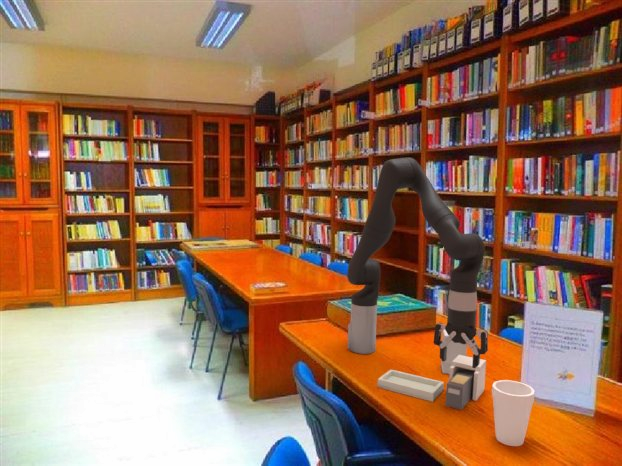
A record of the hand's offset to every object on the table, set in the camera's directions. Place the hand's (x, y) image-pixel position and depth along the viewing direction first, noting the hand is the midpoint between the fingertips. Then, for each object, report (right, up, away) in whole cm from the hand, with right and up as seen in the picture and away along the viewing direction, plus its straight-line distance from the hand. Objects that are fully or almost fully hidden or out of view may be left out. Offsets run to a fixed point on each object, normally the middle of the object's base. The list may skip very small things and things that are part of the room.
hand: (459, 363), depth 142 cm
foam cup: (+7, -14, -17) cm, 23 cm away
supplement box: (+6, -9, +26) cm, 28 cm away
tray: (-11, -10, +11) cm, 19 cm away
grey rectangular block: (+2, -11, +4) cm, 12 cm away
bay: (+5, -11, +9) cm, 15 cm away
